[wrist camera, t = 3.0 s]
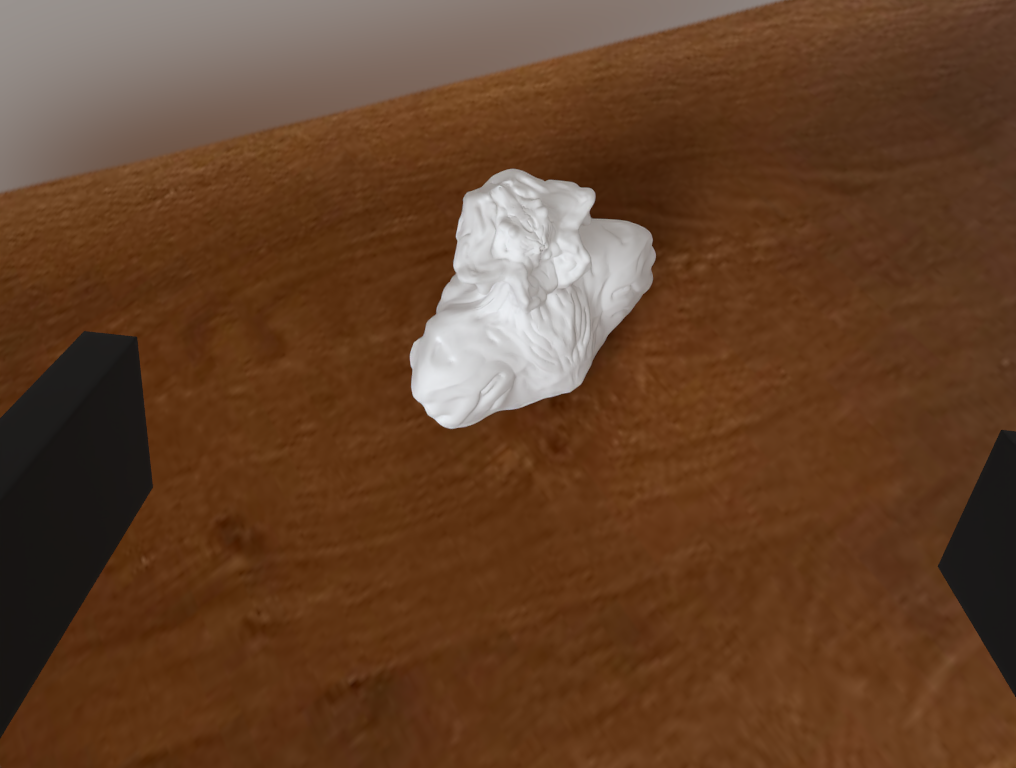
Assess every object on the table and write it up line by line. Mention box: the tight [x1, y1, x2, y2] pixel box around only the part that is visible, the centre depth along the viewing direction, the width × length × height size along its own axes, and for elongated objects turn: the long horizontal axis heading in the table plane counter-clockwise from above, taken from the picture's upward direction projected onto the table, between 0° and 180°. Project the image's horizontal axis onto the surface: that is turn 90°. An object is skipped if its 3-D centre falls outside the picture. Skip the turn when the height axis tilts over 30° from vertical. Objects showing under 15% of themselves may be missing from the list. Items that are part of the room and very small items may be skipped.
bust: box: [410, 169, 656, 429], centre depth 36 cm, size 12×8×11 cm
